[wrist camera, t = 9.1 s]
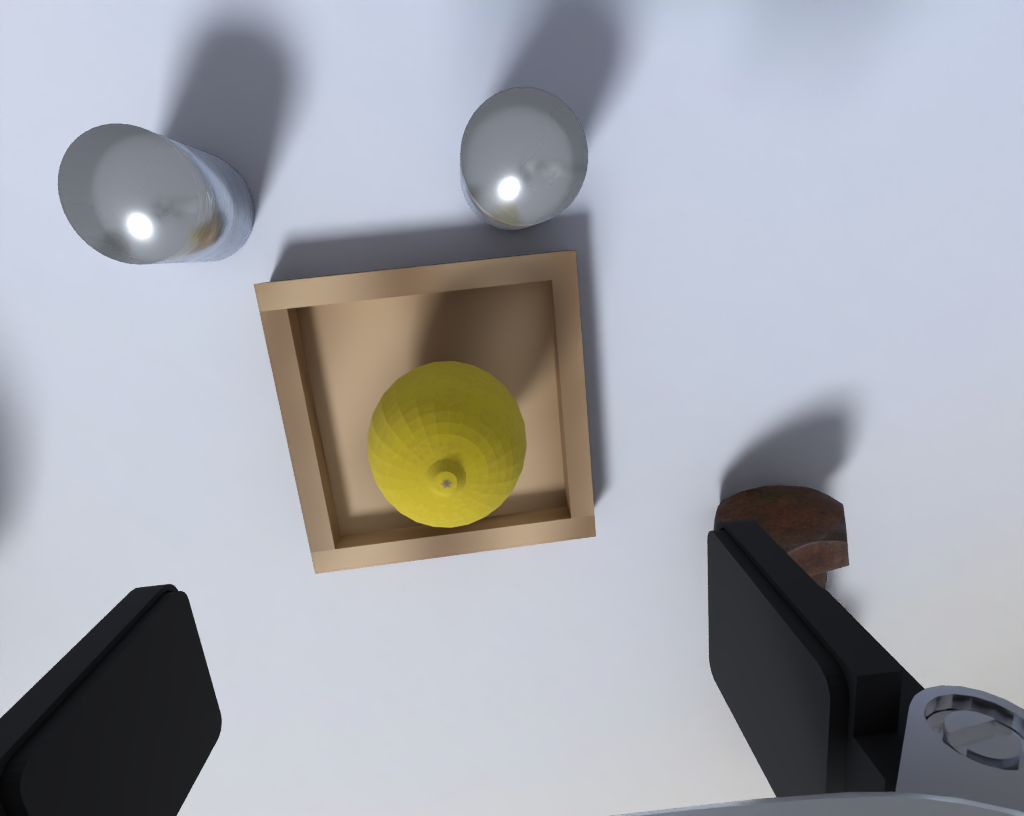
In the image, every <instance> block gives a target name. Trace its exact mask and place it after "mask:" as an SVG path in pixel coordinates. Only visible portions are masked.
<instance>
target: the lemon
mask: <svg viewBox="0 0 1024 816" xmlns="http://www.w3.org/2000/svg"><path fill="white" fill-rule="evenodd" d="M526 447H527V442H526V431H525V423H524V420H523V417H522V415H521V412H520V409H519V407H518V404H517V402H516V401H515V399H514V398H513V396H512V395H511V394H510V392H509V391H508V389H507V388H506V387H505V386H504V385H503V384H502V383H501V382H500V381H499V380H497V379H496V378H495V377H494V376H493V375H491V374H490V373H489V372H487V371H484V370H482V369H480V368H478V367H476V366H474V365H471V364H466V363H461V362H456V361H443V362H432V363H429V364H426V365H423V366H419V367H416V368H414V369H413V370H411V371H409V372H408V373H406V374H405V375H403V376H401V377H400V378H398V379H397V380H396V381H395V382H394V383H393V384H392V385H391V386H390V387H389V389H388V390H387V391H386V392H385V393H384V394H383V395H382V397H381V399H380V401H379V403H378V405H377V406H376V408H375V410H374V412H373V415H372V419H371V423H370V427H369V431H368V460H369V464H370V467H371V470H372V473H373V476H374V480H375V482H376V484H377V486H378V487H379V489H380V490H381V492H382V494H383V495H384V497H385V498H386V500H387V501H388V502H389V503H390V504H392V505H393V506H394V507H395V508H396V509H397V510H398V511H399V512H400V513H401V514H403V515H405V516H407V517H409V518H410V519H412V520H414V521H416V522H418V523H422V524H425V525H429V526H433V527H448V528H452V527H458V526H463V525H468V524H471V523H473V522H475V521H478V520H480V519H482V518H484V517H486V516H487V515H489V514H490V513H491V512H493V511H494V510H495V509H497V508H498V507H499V506H501V504H502V503H503V502H504V501H505V499H506V498H507V497H508V496H509V495H510V493H511V492H512V491H513V489H514V487H515V485H516V483H517V481H518V478H519V476H520V474H521V472H522V469H523V465H524V459H525V453H526Z"/></svg>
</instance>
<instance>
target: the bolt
mask: <svg viewBox="0 0 1024 816" xmlns="http://www.w3.org/2000/svg"><path fill="white" fill-rule="evenodd" d="M751 518H752V519H753V520H755V521H756V522H757V523H758V524H759V525H760V526H761V527H762V528H763V529H764V530H765V531H766V532H767V533H768V534H769V535H770V537H771V538H772V539H773V540H774V541H775V542H776V543H777V544H778V545H779V546H780V547H781V548H782V549H783V550H784V551H785V552H786V553H787V554H788V555H789V556H790V557H791V558H792V559H793V560H794V561H795V562H796V563H797V564H798V565H799V566H800V567H801V568H802V569H803V570H804V571H805V572H806V573H807V574H808V575H809V576H810V577H811V578H812V579H813V580H814V581H815V582H816V583H817V584H818V585H819V586H820V587H822V588H823V589H825V582H826V579H827V574H826V571H830V570H834V569H838V568H841V567H845V566H849V558H848V545H847V533H846V523H845V516H844V508H843V504H842V503H840V502H838V501H837V500H835V499H833V498H832V497H830V496H828V495H826V494H824V493H822V492H820V491H818V490H814V489H811V488H806V487H797V486H763V487H759V488H756V489H751V490H746V491H743V492H740V493H738V494H736V495H734V496H732V497H730V498H729V499H727V500H726V501H724V502H723V503H721V504H720V505H719V506H718V508H717V512H716V516H715V522H714V531H716V530H717V525H718V523H719V522H723V521H732V520H741V519H751Z"/></svg>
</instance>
